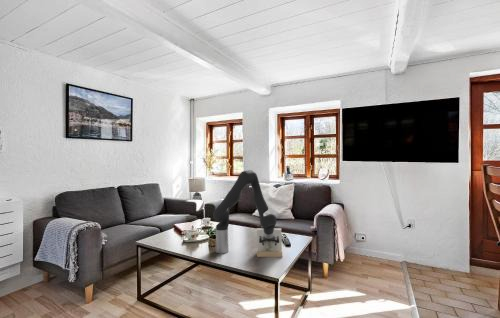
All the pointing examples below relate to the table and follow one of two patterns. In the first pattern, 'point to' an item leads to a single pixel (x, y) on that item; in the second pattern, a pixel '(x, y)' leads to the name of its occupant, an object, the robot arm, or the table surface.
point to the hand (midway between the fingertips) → (269, 244)
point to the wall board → (276, 249)
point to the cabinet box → (269, 246)
